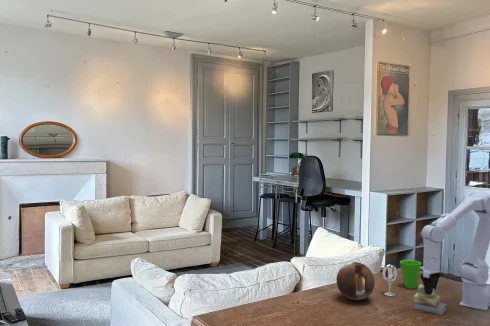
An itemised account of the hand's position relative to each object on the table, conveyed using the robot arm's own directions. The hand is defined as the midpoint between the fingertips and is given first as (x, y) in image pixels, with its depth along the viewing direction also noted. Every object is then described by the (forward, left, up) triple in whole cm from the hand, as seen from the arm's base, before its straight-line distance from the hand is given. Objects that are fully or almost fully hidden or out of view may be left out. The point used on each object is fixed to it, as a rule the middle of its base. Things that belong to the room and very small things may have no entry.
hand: (430, 292), depth 163 cm
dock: (0, 0, -6) cm, 6 cm away
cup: (+14, -23, -7) cm, 28 cm away
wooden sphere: (+27, +8, -7) cm, 29 cm away
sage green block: (+2, -2, -4) cm, 5 cm away
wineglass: (+18, -7, -7) cm, 21 cm away
